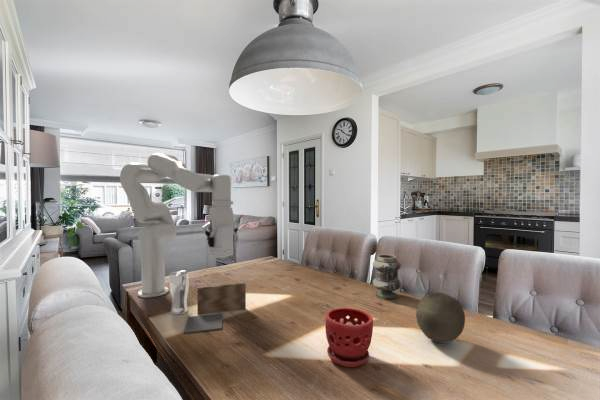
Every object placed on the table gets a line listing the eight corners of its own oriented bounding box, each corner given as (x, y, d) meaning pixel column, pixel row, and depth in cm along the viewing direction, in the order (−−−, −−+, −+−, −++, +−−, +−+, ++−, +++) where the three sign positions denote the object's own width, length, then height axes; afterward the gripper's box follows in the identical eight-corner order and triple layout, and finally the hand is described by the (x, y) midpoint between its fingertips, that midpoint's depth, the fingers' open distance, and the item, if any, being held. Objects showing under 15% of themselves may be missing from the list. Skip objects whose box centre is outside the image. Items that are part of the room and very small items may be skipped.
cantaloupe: (407, 331, 97) (408, 287, 97) (448, 330, 98) (449, 286, 98) (428, 355, 83) (429, 303, 83) (476, 353, 84) (477, 302, 84)
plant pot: (374, 373, 75) (375, 327, 74) (323, 368, 77) (323, 323, 76) (370, 347, 88) (371, 307, 87) (326, 343, 90) (327, 304, 89)
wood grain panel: (197, 314, 111) (197, 287, 110) (197, 312, 112) (197, 286, 111) (245, 309, 115) (245, 284, 115) (245, 308, 116) (245, 283, 116)
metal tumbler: (182, 316, 109) (181, 276, 108) (165, 314, 110) (165, 275, 110) (192, 308, 116) (192, 271, 115) (176, 307, 117) (176, 270, 116)
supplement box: (233, 254, 124) (234, 225, 124) (222, 258, 118) (222, 227, 117) (220, 253, 128) (220, 224, 127) (208, 256, 121) (208, 226, 121)
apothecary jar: (385, 289, 139) (385, 252, 139) (406, 297, 129) (407, 256, 128) (367, 294, 133) (367, 255, 132) (387, 302, 122) (388, 260, 122)
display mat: (184, 333, 95) (184, 332, 95) (188, 318, 107) (188, 316, 107) (222, 329, 98) (222, 327, 98) (222, 314, 110) (222, 313, 110)
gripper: (234, 203, 131) (234, 241, 131) (197, 204, 118) (197, 246, 119) (244, 204, 125) (243, 244, 126) (206, 205, 113) (206, 249, 114)
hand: (221, 245), depth 122 cm, fingers closed on supplement box, 9 cm apart
